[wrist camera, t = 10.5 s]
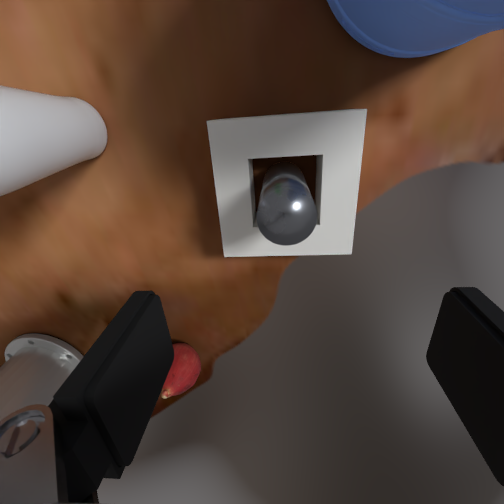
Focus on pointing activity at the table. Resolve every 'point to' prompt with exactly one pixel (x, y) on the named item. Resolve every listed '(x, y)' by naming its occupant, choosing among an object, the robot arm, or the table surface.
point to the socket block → (284, 145)
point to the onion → (182, 370)
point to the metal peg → (286, 205)
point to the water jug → (417, 23)
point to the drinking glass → (44, 136)
